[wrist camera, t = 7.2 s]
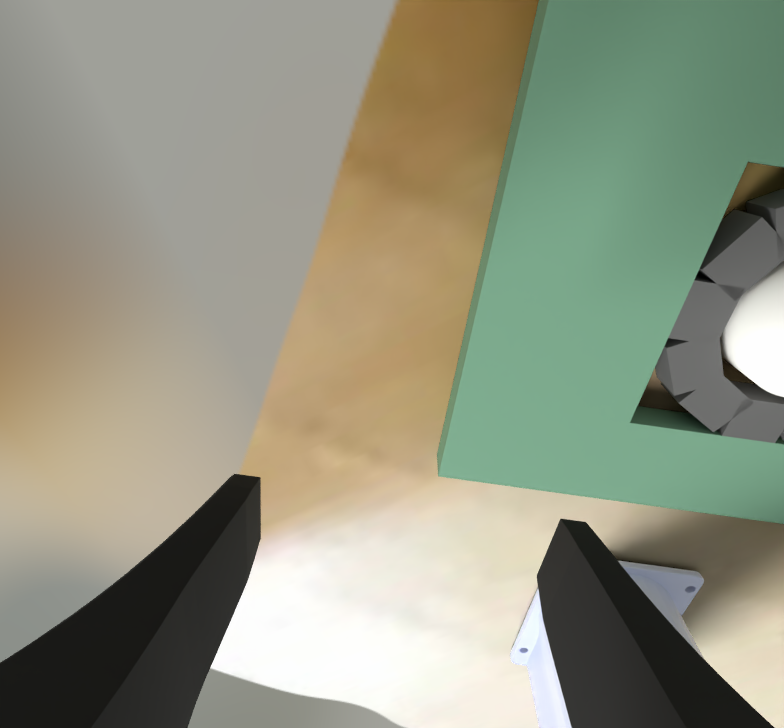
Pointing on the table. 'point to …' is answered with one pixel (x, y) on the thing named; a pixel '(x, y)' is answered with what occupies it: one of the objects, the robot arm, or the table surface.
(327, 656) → the table surface
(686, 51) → the mat
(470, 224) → the table surface
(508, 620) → the table surface
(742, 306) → the white smooth pebble
